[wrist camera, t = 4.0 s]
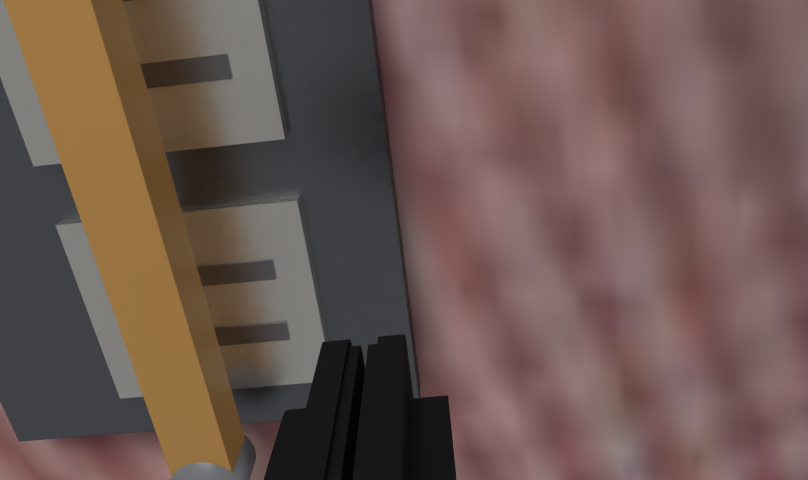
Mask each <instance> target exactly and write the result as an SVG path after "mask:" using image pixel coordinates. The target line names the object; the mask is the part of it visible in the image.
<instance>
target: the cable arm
mask: <svg viewBox="0 0 808 480" xmlns="http://www.w3.org/2000/svg"><path fill="white" fill-rule="evenodd" d="M4 3H5V6H6V9H7V12H8V14H9V17H10V20H11V23H12V26H13V29H14V31H15V34H16V37H17V40H18V43H19V46H20V48H21V51H22V54H23V57H24V60H25V63H26V65H27V68H28V71H29V74H30V77H31V80H32V82H33V85H34V88H35V91H36V94H37V97H38V99H39V102H40V105H41V108H42V111H43V114H44V116H45V119H46V122H47V125H48V128H49V131H50V133H51V136H52V139H53V142H54V145H55V148H56V150H57V153H58V156H59V159H60V162H61V165H62V167H63V170H64V173H65V176H66V179H67V182H68V184H69V187H70V190H71V193H72V196H73V199H74V201H75V204H76V207H77V210H78V213H79V216H80V218H81V221H82V224H83V227H84V230H85V233H86V235H87V238H88V241H89V244H90V247H91V250H92V252H93V255H94V258H95V261H96V264H97V267H98V269H99V272H100V275H101V278H102V281H103V284H104V286H105V289H106V292H107V295H108V298H109V301H110V303H111V306H112V309H113V312H114V315H115V318H116V320H117V323H118V326H119V329H120V332H121V335H122V337H123V340H124V343H125V346H126V349H127V352H128V355H129V357H130V360H131V363H132V366H133V369H134V372H135V374H136V377H137V380H138V383H139V386H140V389H141V391H142V394H143V397H144V400H145V403H146V406H147V408H148V411H149V414H150V417H151V420H152V423H153V425H154V428H155V431H156V434H157V437H158V440H159V442H160V445H161V448H162V451H163V454H164V457H165V459H166V462H167V465H168V468H169V471H170V474H171V476H172V478H171V480H249V479H250V476H251V472H252V469H253V466H254V463H255V460H256V452H255V448H254V446H253V444H252V443H251V441H250V440H249V439H248V438H247V437H246V436H245V435H244V433H243V430H242V426H241V423H240V419H239V415H238V412H237V408H236V405H235V401H234V397H233V394H232V390H231V387H230V383H229V380H228V376H227V372H226V369H225V365H224V362H223V358H222V355H221V351H220V347H219V344H218V340H217V337H216V333H215V329H214V326H213V322H212V319H211V315H210V312H209V308H208V304H207V301H206V297H205V294H204V290H203V287H202V283H201V279H200V276H199V272H198V269H197V265H196V262H195V258H194V254H193V251H192V247H191V244H190V240H189V236H188V233H187V229H186V226H185V222H184V219H183V215H182V211H181V208H180V204H179V201H178V197H177V194H176V190H175V186H174V183H173V179H172V176H171V172H170V169H169V165H168V161H167V158H166V154H165V151H164V147H163V143H162V140H161V136H160V133H159V129H158V126H157V122H156V118H155V115H154V111H153V108H152V104H151V101H150V97H149V93H148V90H147V86H146V83H145V79H144V76H143V72H142V68H141V65H140V61H139V58H138V54H137V50H136V47H135V43H134V40H133V36H132V33H131V29H130V25H129V22H128V18H127V15H126V11H125V8H124V4H123V0H4Z"/></svg>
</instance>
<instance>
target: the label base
mask: <svg viewBox="0 0 808 480" xmlns="http://www.w3.org/2000/svg"><path fill="white" fill-rule="evenodd" d="M123 4H124V8H125V11H126V15H127V18H128V22H129V25H130V29H131V33H132V36H133V40H134V43H135V47H136V50H137V54H138V58H139V61H140V65H141V68H142V72H143V76H144V79H145V83H146V86H147V90H148V93H149V97H150V101H151V104H152V108H153V111H154V115H155V118H156V122H157V126H158V129H159V133H160V136H161V140H162V143H163V147H164V151H165V154H166V158H167V161H168V165H169V169H170V172H171V176H172V179H173V183H174V186H175V190H176V194H177V197H178V201H179V204H180V208H181V211H182V215H183V219H184V222H185V226H186V229H187V233H188V236H189V240H190V244H191V247H192V251H193V254H194V258H195V262H196V265H197V269H198V272H199V276H200V279H201V283H202V287H203V290H204V294H205V297H206V301H207V304H208V308H209V312H210V315H211V319H212V322H213V326H214V329H215V333H216V337H217V340H218V344H219V347H220V351H221V355H222V358H223V362H224V365H225V369H226V372H227V376H228V380H229V383H230V387H231V390H232V394H233V397H234V401H235V405H236V408H237V412H238V415H239V419H240V423H254V422H266V421H279V420H282V417H283V415H284V413H285V411H286V410H289V409H300V408H306V405H307V401H308V397H309V393H310V389H311V385H312V381H313V377H314V373H315V369H316V365H317V361H318V357H319V353H320V349H321V345H322V342H325V341H336V340H346V339H350V340H351V343H352V346H358V345H360V346H361V348H362V352H363V358H364V364H365V367H366V359H367V350H368V345H369V344H377V341H378V337H379V336H389V335H400V334H405V336H406V342H407V350H408V358H409V365H410V373H411V381H412V388H413V396H414V398H420V382H419V374H418V366H417V358H416V350H415V342H414V334H413V326H412V318H411V310H410V302H409V294H408V286H407V279H406V271H405V263H404V255H403V247H402V239H401V231H400V223H399V215H398V207H397V199H396V191H395V183H394V175H393V168H392V160H391V152H390V144H389V136H388V128H387V120H386V112H385V104H384V96H383V88H382V80H381V72H380V64H379V57H378V49H377V41H376V33H375V25H374V17H373V9H372V1H371V0H123ZM0 402H1V404H2V406H3V408H4V410H5V412H6V415H7V417H8V419H9V421H10V423H11V425H12V427H13V429H14V432H15V434H16V436H17V438H18V440H19V441H31V440H43V439H55V438H68V437H80V436H93V435H105V434H117V433H130V432H142V431H155V428H154V425H153V423H152V420H151V417H150V414H149V411H148V408H147V406H146V403H145V400H144V397H143V394H142V391H141V389H140V386H139V383H138V380H137V377H136V374H135V372H134V369H133V366H132V363H131V360H130V357H129V355H128V352H127V349H126V346H125V343H124V340H123V337H122V335H121V332H120V329H119V326H118V323H117V320H116V318H115V315H114V312H113V309H112V306H111V303H110V301H109V298H108V295H107V292H106V289H105V286H104V284H103V281H102V278H101V275H100V272H99V269H98V267H97V264H96V261H95V258H94V255H93V252H92V250H91V247H90V244H89V241H88V238H87V235H86V233H85V230H84V227H83V224H82V221H81V218H80V216H79V213H78V210H77V207H76V204H75V201H74V199H73V196H72V193H71V190H70V187H69V184H68V182H67V179H66V176H65V173H64V170H63V167H62V165H61V162H60V159H59V156H58V153H57V150H56V148H55V145H54V142H53V139H52V136H51V133H50V131H49V128H48V125H47V122H46V119H45V116H44V114H43V111H42V108H41V105H40V102H39V99H38V97H37V94H36V91H35V88H34V85H33V82H32V80H31V77H30V74H29V71H28V68H27V65H26V63H25V60H24V57H23V54H22V51H21V48H20V46H19V43H18V40H17V37H16V34H15V31H14V29H13V26H12V23H11V20H10V17H9V14H8V12H7V9H6V6H5V3H4V0H0Z"/></svg>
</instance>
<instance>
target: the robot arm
mask: <svg viewBox="0 0 808 480" xmlns="http://www.w3.org/2000/svg"><path fill="white" fill-rule="evenodd" d="M264 480H456V471H455V460H454V450H453V440H452V430H451V421H450V411H449V402H448V396H437V397H426V398H414V396H413V388H412V381H411V373H410V365H409V358H408V350H407V342H406V336H405V334H400V335H389V336H379V337H378V341H377V344H369V345H368V350H367V359H366V367H365V364H364V358H363V352H362V348H361V346H360V345H358V346H352V343H351V340H350V339H346V340H336V341H325V342H322V345H321V349H320V353H319V357H318V361H317V365H316V369H315V373H314V377H313V381H312V385H311V389H310V393H309V397H308V401H307V405H306V408H300V409H289V410H286V411H285V413H284V415H283V417H282V421H281V424H280V427H279V431H278V434H277V437H276V441H275V444H274V447H273V451H272V454H271V457H270V461H269V464H268V467H267V471H266V474H265V477H264Z"/></svg>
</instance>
